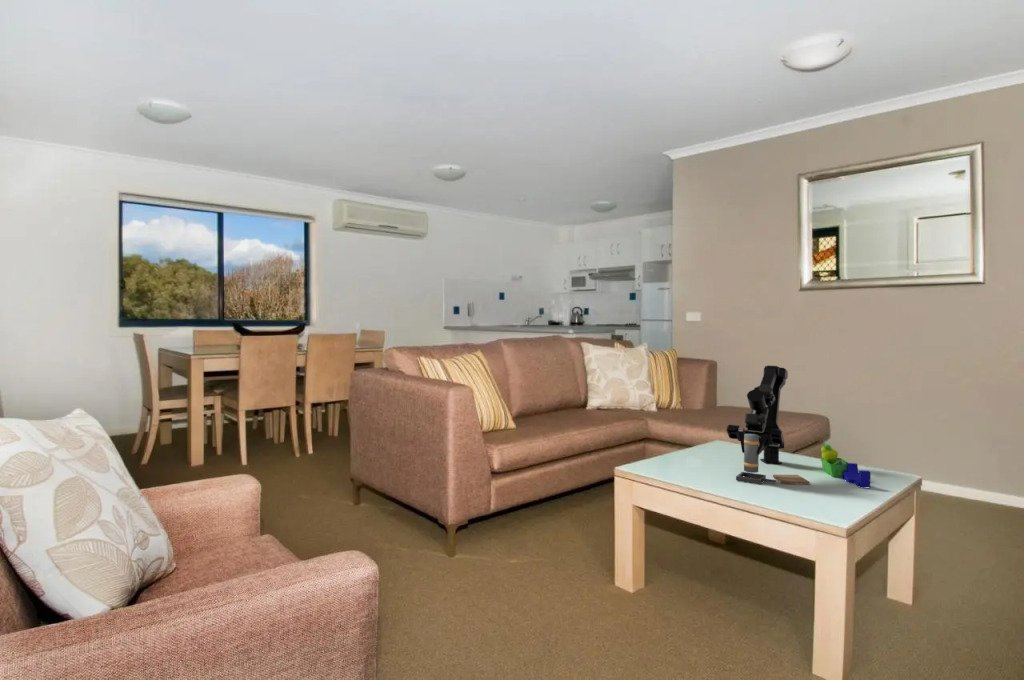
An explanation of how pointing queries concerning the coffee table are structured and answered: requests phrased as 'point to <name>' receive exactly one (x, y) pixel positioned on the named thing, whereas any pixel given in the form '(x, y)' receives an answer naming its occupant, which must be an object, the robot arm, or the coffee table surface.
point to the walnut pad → (791, 479)
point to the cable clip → (856, 475)
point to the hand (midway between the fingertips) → (750, 453)
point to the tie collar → (758, 480)
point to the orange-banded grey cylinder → (751, 452)
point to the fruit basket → (832, 461)
